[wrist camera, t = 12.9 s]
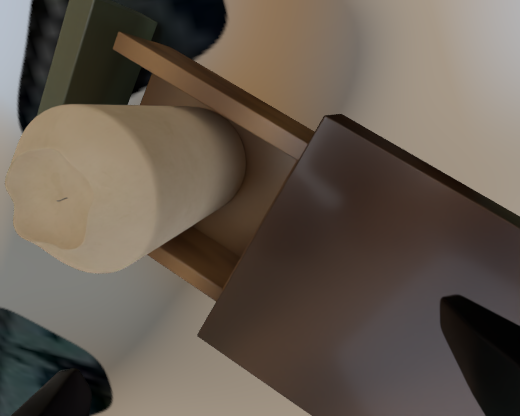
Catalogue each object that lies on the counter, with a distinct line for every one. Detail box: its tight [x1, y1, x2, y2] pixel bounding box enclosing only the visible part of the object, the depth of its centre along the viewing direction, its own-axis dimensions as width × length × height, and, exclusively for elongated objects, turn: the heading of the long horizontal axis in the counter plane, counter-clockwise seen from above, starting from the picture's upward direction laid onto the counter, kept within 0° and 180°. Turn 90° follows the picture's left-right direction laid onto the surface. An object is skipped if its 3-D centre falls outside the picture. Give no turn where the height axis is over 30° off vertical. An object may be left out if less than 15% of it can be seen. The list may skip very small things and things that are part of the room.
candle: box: [5, 104, 246, 274], centre depth 15 cm, size 6×6×10 cm
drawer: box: [37, 0, 315, 302], centre depth 19 cm, size 14×10×5 cm
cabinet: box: [198, 114, 520, 416], centre depth 17 cm, size 14×11×7 cm
